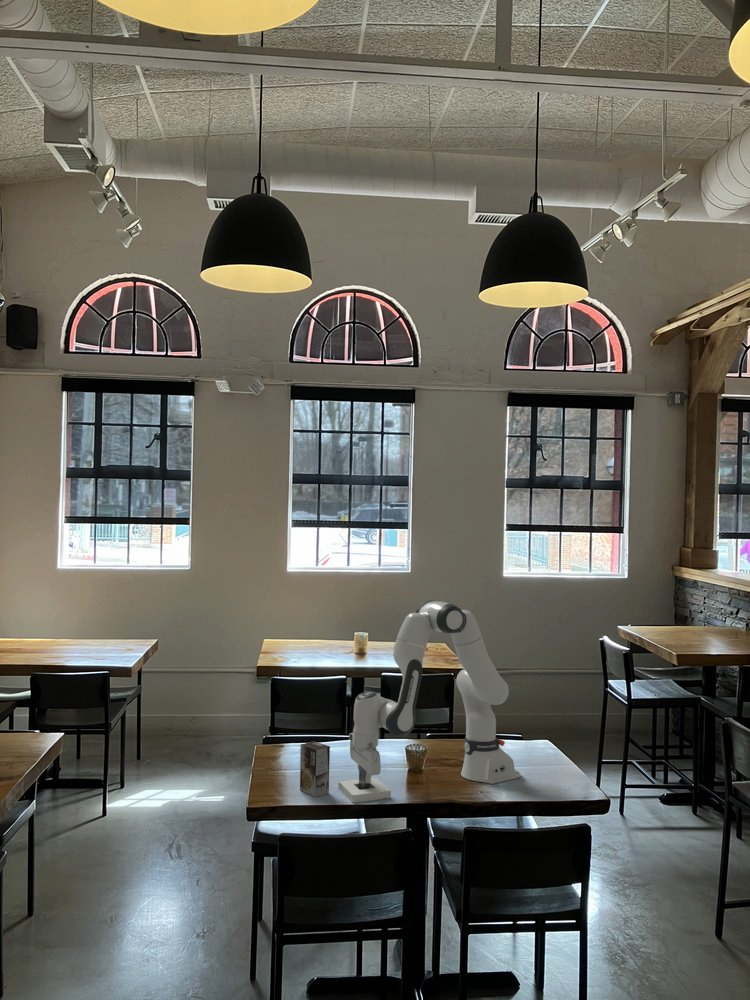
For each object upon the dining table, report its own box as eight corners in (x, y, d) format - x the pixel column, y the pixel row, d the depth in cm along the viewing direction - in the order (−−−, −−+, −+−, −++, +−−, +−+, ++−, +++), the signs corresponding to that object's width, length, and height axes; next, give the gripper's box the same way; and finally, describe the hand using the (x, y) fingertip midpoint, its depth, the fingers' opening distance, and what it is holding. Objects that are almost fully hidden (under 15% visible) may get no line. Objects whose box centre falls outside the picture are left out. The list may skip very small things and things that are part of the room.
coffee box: (329, 793, 259) (330, 746, 259) (315, 797, 254) (316, 749, 255) (313, 786, 266) (314, 740, 266) (298, 790, 261) (300, 743, 262)
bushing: (367, 787, 262) (368, 764, 262) (371, 791, 258) (372, 768, 259) (356, 789, 261) (357, 766, 261) (361, 793, 257) (361, 769, 257)
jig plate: (375, 784, 269) (375, 777, 269) (390, 797, 256) (390, 790, 256) (338, 788, 263) (338, 781, 263) (352, 802, 250) (352, 795, 251)
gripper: (385, 747, 252) (384, 789, 251) (363, 731, 271) (362, 769, 270) (368, 749, 249) (367, 791, 249) (347, 732, 268) (346, 771, 268)
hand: (364, 779), depth 260 cm, fingers closed on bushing, 4 cm apart
